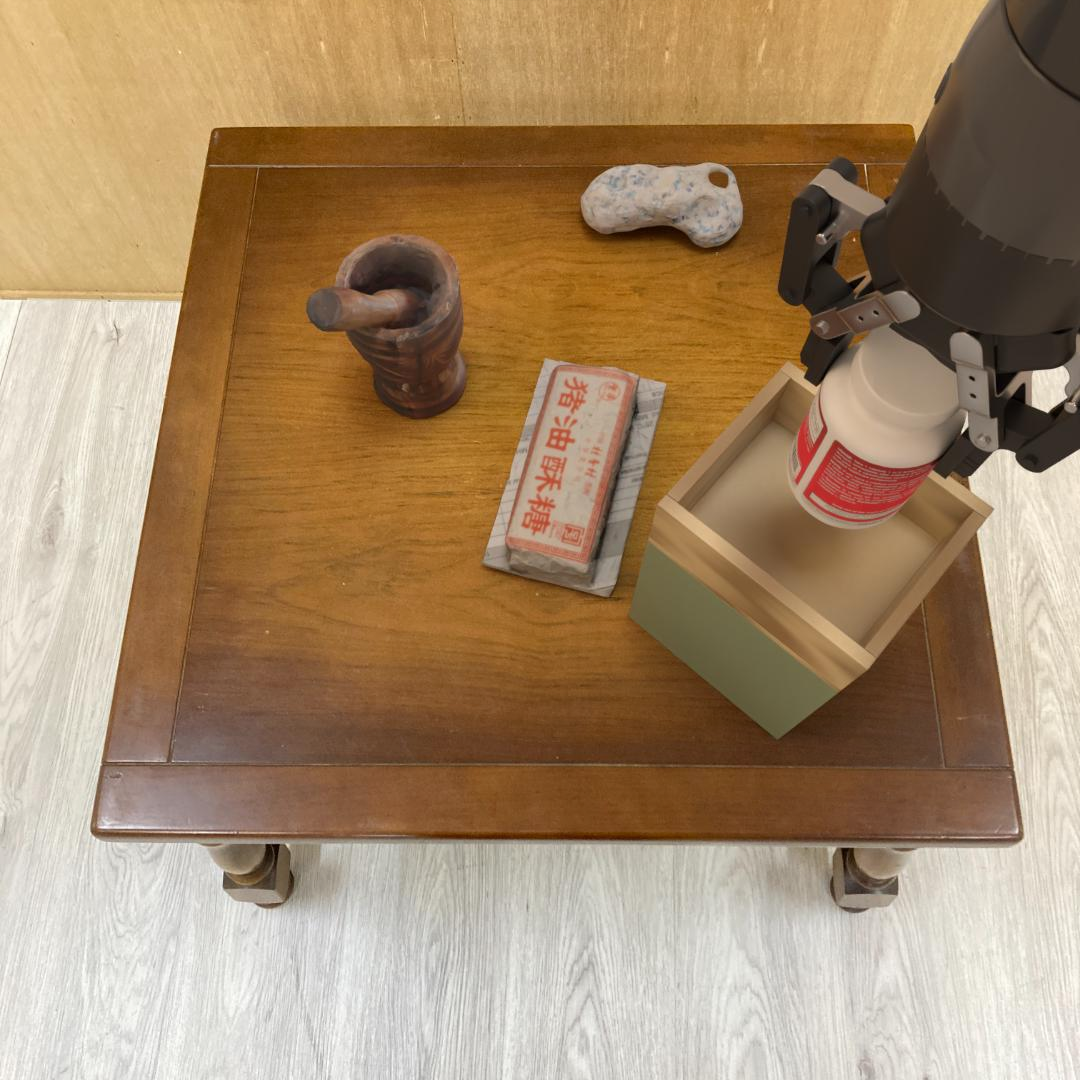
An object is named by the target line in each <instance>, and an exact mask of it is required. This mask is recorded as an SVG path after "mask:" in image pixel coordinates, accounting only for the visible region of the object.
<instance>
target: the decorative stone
mask: <svg viewBox="0 0 1080 1080" xmlns="http://www.w3.org/2000/svg"><path fill="white" fill-rule="evenodd" d="M714 172H719V173H723V174H724V175H726V176H727V177H728V178H727V181H728V183H727V186H726V187H725V188H724V187H720V186H717V185H715V184H713V183H712V182H711V181H710V179H709V175H711V174H712V173H714ZM741 199H742V197H741V193H740V191H739V186H738V183H737V179H736V176H735V174H734V172H733V171H732V170H730V168H728V167H726V166H725V165H723V164H721V163H716V162H710V161H709V162H703V163H699V164H695V165H686V166H683V165H670V166H665V167H658V166H656V165H652V164H646V163H635V164H631V165H618V166H613V167H611V168H609V169H606V170H605V171H604V172H602V173H601V174H599V175H598V176H596V177H595V178H594V179H593V180H591V182H590V183H589V185H588V187H587V188H586V190H585V191H584V192H583V193H582V195H581V197H580V208H581V214H582V217H583V220H584V221H585V223H586V224H587V225H588V226H589V227H590V228H592V229H593V230H594V231H596V232H597V233H599V234H603V235H610V234H614V233H620V232H621V233H623V232H624V233H625V232H632V231H634V230H638V229H641V228H647V227H648V228H649V227H656V226H657V227H658V226H665V227H666V226H667V227H673V228H674V229H677V230H679V231H681V232H683V233H684V234H686V235H687V237H688V238H689V239H690V240H691V242H692V243H693V244H695V245H696V246H698V247H701V248H705V249H707V248H713V247H719V246H723V244H726V243H727V242H728V241H730V239H731V238H733V236H735V235H736V234H737V232H738V231H739V230H740V228H741V226H742V224H743V220H744V216H743V215H744V205H743V201H742V200H741Z"/></svg>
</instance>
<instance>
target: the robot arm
mask: <svg viewBox="0 0 1080 1080" xmlns="http://www.w3.org/2000/svg"><path fill="white" fill-rule="evenodd" d="M933 99H934V102H933V107H932V108H931V110H930V113H929V115H928V117H927V119H926V122H925V124H924V126H923V128H922V130H921V132H920V134H919V135H918V138H917V139H916V142H915V144H914V146H913V149H912V150H911V153H910V155H909V157H908V160H907V162H906V164H905V166H904V168H903V170H902V172H901V175H900V177H899V179H898V181H897V183H896V185H895V187H894V189H893V192H892V193H891V194H890V195H888V196H886V197H885V198H884V199H882V198H881V197H879V196H877V195H875V194H873V193H871V192H869V191H867V190H865V189H864V188H863V187H860V186H858V185H857V184H858V180H859V171H858V169H857V167H856V165H855V164H854V163H853V162H852V160H850V159H848V158H846V157H844V156H843V157H842V156H836V157H834V158H833V159H832V160H831V161H830V162H829V163H828V164H827V165H826V166H825V167H824V168H823V169H822V170H821V171H819V173H818V174H817V175H815V177H813V179H812V180H810V182H809V183H808V184H807V185H806V186H805V188H804V189H803V190H802V191H801V192H800V193H799V194H798V195H797V196H795V198H794V199H793V200H792V202H791V205H790V213H789V219H788V224H787V230H786V236H785V242H784V247H783V253H782V259H781V266H780V272H779V277H778V283H777V294H778V295H779V297H780V298H781V300H783V302H785V303H786V304H787V305H790V306H791V307H799V306H803V307H804V308H805V309H806V310H807V311H808V312H809V314H810V316H811V317H810V318H809V327H810V330H809V332H808V335H807V336H806V340H805V342H804V344H803V346H802V349H801V350H800V353H799V358H800V363H801V364H802V365H803V366H805V367H806V368H807V369H806V371H805V375H804V379H806V380H807V381H808V382H810V383H811V384H813V385H814V386H815V387H817V386H818V385H819V384H821V383H822V381H823V379H824V377H825V375H826V373H827V371H828V370H829V368H830V367H831V365H832V363H833V362H834V361H835V360H836V359H837V358H838V356H839V355H840V354H841V353H843V352H844V351H845V350H847V349H848V348H850V347H851V346H850V345H851V343H852V342H853V340H854V338H855V336H859V335H862V334H864V333H867V332H870V331H871V330H873V329H876V328H879V327H882V326H884V325H887V324H890V323H891V324H890V326H889V328H891V329H892V330H893V331H895V332H896V333H898V334H899V335H901V336H902V337H904V338H905V339H907V340H909V341H912V342H914V343H916V344H918V345H920V346H922V347H924V348H925V349H927V350H928V351H929V352H930V353H931V354H932V355H933V356H934V357H935V358H936V359H937V360H938V361H939V362H940V363H942V364H943V365H944V366H946V367H947V368H949V369H950V370H952V371H953V372H955V373H956V374H957V386H958V399H959V408H960V409H962V410H965V411H967V427H966V428H965V430H964V431H963V432H961V433H960V435H959V437H958V438H957V440H956V441H955V443H954V444H953V445H952V446H951V448H950V449H949V450H948V451H947V452H946V454H945V455H944V456H943V457H942V458H941V460H940V461H939V462H938V463H937V464H936V466H935V467H934V468H933V469H932V470H933V471H934V472H936V473H937V474H938V475H940V476H941V477H943V478H944V479H946V478H947V477H948V476H950V475H951V474H952V473H953V472H954V473H955V474H957V475H958V476H959V477H961V478H962V479H964V478H967V477H972V476H973V475H974V474H975V473H976V472H977V471H978V469H979V468H980V467H981V466H982V465H983V464H984V463H985V462H986V461H987V460H988V459H989V458H990V457H991V456H992V455H993V454H994V452H996V451H999V450H1000V451H1001V450H1005V451H1009V452H1012V453H1014V457H1015V461H1016V462H1017V464H1018V465H1019V466H1020V467H1021V468H1022V469H1024V470H1026V471H1028V472H1031V473H1033V474H1034V473H1035V474H1041V473H1043V472H1045V471H1047V470H1048V469H1050V468H1051V467H1053V466H1055V465H1056V464H1058V463H1060V462H1061V461H1063V460H1065V459H1066V458H1068V457H1070V456H1072V455H1073V454H1075V453H1076V452H1078V451H1080V0H988V1H987V3H986V4H985V6H984V7H982V10H981V12H980V13H979V14H978V16H977V18H976V20H975V21H974V23H973V24H972V26H971V27H970V29H969V31H968V33H967V35H966V37H965V39H964V41H963V43H962V44H961V46H960V48H959V50H958V53H957V54H956V57H955V58H954V60H952V62H949V65H948V66H947V68H946V70H945V72H944V74H943V77H942V78H941V80H940V83H939V85H938V87H937V89H936V92H935V94H934V97H933ZM851 231H858V232H860V233H859V240H860V242H859V243H860V245H861V246H860V247H861V248H862V252H863V255H864V258H865V261H866V265H867V268H868V269H867V270H865V271H862V272H860V273H857V274H856V275H853V276H851V277H849V278H847V279H845V278H844V277H843V276H842V275H841V274H840V273H839V272H838V271H837V270H836V267H837V266H838V262H839V259H840V254H841V250H842V246H843V243H844V239H845V238H846V237H847V236H848V235H849V233H850V232H851ZM1060 367H1064V369H1065V370H1066V372H1067V373H1068V376H1069V379H1068V381H1067V383H1066V384H1065V385H1064V390H1063V391H1064V394H1065V396H1066V398H1065V399H1063V400H1062V401H1060V402H1059V403H1057V404H1056V405H1055V406H1053V407H1052V408H1051V409H1050V410H1049V411H1048V412H1047V411H1044V410H1041V409H1039V408H1037V407H1035V406H1033V373H1034V372H1035V371H1049V370H1055V369H1059V368H1060Z"/></svg>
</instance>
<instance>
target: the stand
mask: <svg viewBox="0 0 1080 1080" xmlns="http://www.w3.org/2000/svg"><path fill="white" fill-rule="evenodd" d="M627 617H628V618H629V619H631V620H632V621H633V622H634V623H635V624H637V626H639V627H640V628H641V629H643V630H644V631H645V632H646V633H648V634H649V636H651V637H652V638H653V639H655V640H656V641H657V642H658V643H660V644H661V645H662V646H663V647H664V648H666V649H667V651H669V652H671V654H673V655H674V656H675V657H677V658H678V659H679V660H680V661H681V662H683V664H685V665H686V666H687V667H689V669H691V670H692V671H693V672H694V673H696V674H697V675H698V676H700V677H701V678H702V679H703V680H705V682H707V683H708V684H709V685H710V686H711V687H712V688H714V689H715V690H716V691H717V692H719V693H720V694H721V695H722V696H723V697H725V698H726V699H727V700H728V701H730V702H731V703H732V704H733V705H734V706H736V707H737V708H738V709H739V710H741V712H743V713H744V714H745V715H747V716H748V717H749V718H750V719H751V720H753V721H754V722H755V723H756V724H757V725H759V726H760V727H761V728H762V729H763V730H764V731H766V732H767V733H768V734H770V735H771V736H772V737H773V738H774V739H776V740H779V739H781V738H782V737H783V736H784V735H786V734H787V733H788V732H790V731H791V730H792V729H794V728H795V727H796V726H797V725H798V724H800V723H802V722H803V721H805V719H807V718H808V717H809V716H810V715H812V714H813V713H814V712H815V711H817V710H818V709H819V708H821V707H822V706H824V704H826V703H827V702H828V701H830V700H831V699H832V698H834V697H835V696H836V695H837V694H839V693H840V692H837V691H836V690H834V689H833V688H832V687H831V686H829V685H828V684H827V683H826V682H824V681H823V680H822V679H821V678H819V677H818V676H817V675H816V674H814V673H813V672H812V671H811V670H809V669H808V668H807V667H806V666H804V665H803V664H802V663H801V662H799V661H798V660H797V659H796V658H794V657H793V656H792V655H791V654H789V653H788V652H787V651H786V650H784V649H783V648H782V647H781V646H779V645H778V644H777V643H776V642H774V641H773V640H772V639H771V638H769V637H768V636H767V635H766V634H764V633H763V632H762V631H761V630H759V629H758V628H757V627H756V626H754V625H753V624H752V623H751V622H749V621H748V620H747V619H746V618H744V617H743V616H742V615H741V614H739V613H738V612H737V611H736V610H734V609H733V608H732V607H731V606H729V605H728V604H727V603H726V602H724V601H723V600H722V599H721V598H719V597H718V596H717V595H716V594H714V593H713V592H712V591H711V590H709V589H708V588H707V587H706V586H704V585H703V584H702V583H701V582H699V581H698V580H697V579H696V578H694V577H693V576H692V575H691V574H689V573H688V572H687V571H686V570H684V569H683V568H682V567H681V566H679V565H678V564H677V563H676V562H674V561H673V560H672V559H671V558H669V557H668V556H667V555H666V554H664V553H663V552H662V551H661V550H659V549H658V548H657V547H656V546H654V545H653V544H652V543H651V542H649V541H648V540H647V542H646V546H645V550H644V554H643V557H642V561H641V565H640V568H639V573H638V577H637V580H636V584H635V588H634V592H633V596H632V599H631V603H630V608H629V611H628V615H627Z"/></svg>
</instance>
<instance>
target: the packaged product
mask: <svg viewBox="0 0 1080 1080" xmlns="http://www.w3.org/2000/svg"><path fill="white" fill-rule="evenodd" d="M666 388H667V382H662V381H658V380H653V379H649V378H643V377H640V375H639V373H636V374H635V373H633V372H630V371H627V370H624V369H621V368H619V367H617V366H603V365H602V366H600V367H599V366H596V365H595V366H594V365H582V364H576V363H572V362H567V361H563V360H554V359H550V358H548V357H545V358H544V360H543V364H542V367H541V371H540V373H539V376H538V379H537V382H536V385H535V389H534V392H533V395H532V399H531V402H530V406H529V408H528V412H527V415H526V418H525V421H524V425H523V428H522V431H521V434H520V438H519V441H518V445H517V448H516V450H515V453H514V457H513V459H512V463H511V466H510V467H511V468H510V472H509V477H508V479H507V481H506V484H505V487H504V490H503V493H502V496H501V499H500V503H499V506H498V510H497V513H496V518H495V521H494V523H493V526H492V529H491V533H490V536H489V539H488V542H487V546H486V548H485V551H484V555H483V558H482V562H481V565H482V566H485V567H489V568H492V569H494V570H495V569H496V570H499V571H502V572H507V573H510V574H513V575H517V576H520V577H524V578H527V579H531V580H535V581H540V582H544V583H547V584H552V585H557V586H561V587H564V588H567V589H573V590H577V591H580V592H585V593H588V594H592V595H596V596H599V597H603V598H610V596H611V594H612V592H613V590H614V588H615V586H616V583H617V581H618V577H619V573H620V569H621V565H622V559H623V555H624V551H625V547H626V543H627V540H628V537H629V533H630V530H631V526H632V524H633V520H634V515H635V510H636V506H637V503H638V498H639V494H640V492H641V488H642V485H643V482H644V477H645V474H646V471H647V467H648V463H649V458H650V454H651V451H652V446H653V443H654V439H655V435H656V432H657V428H658V425H659V420H660V417H661V413H662V409H663V405H664V400H665V399H664V398H665V394H666V390H667V389H666Z"/></svg>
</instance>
